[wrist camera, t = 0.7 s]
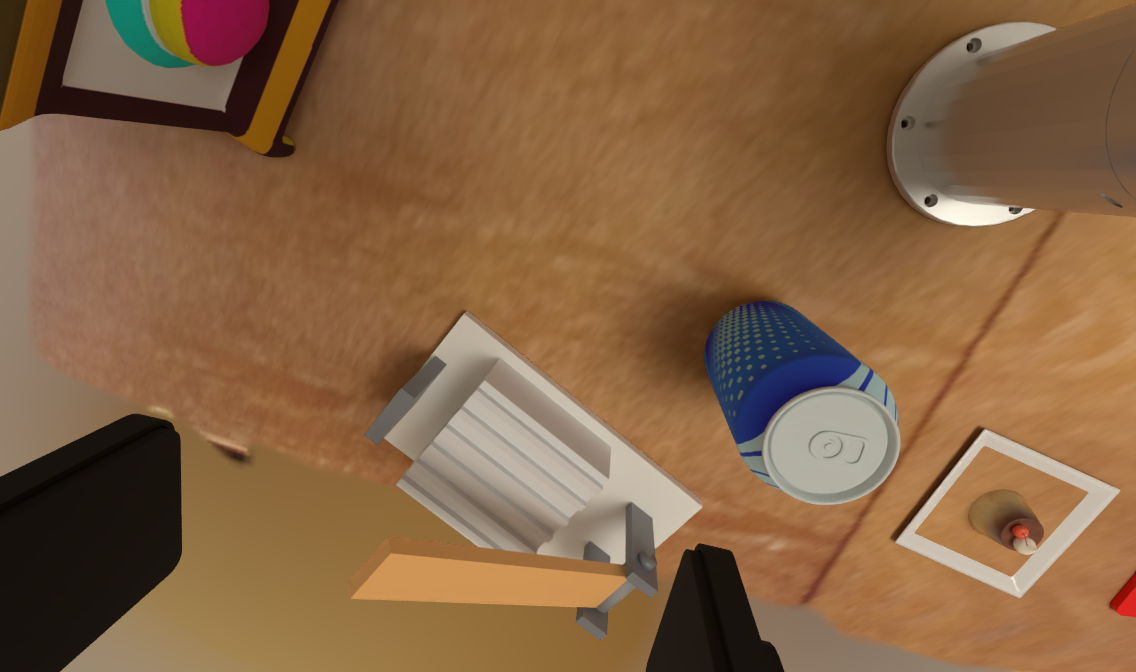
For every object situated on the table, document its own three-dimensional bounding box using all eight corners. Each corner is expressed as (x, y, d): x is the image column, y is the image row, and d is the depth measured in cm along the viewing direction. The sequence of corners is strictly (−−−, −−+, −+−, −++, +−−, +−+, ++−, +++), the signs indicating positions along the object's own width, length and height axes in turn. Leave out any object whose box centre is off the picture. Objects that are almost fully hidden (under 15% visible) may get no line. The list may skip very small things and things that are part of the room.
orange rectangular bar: (635, 561, 41) (646, 583, 40) (602, 591, 42) (611, 613, 41) (388, 529, 28) (391, 560, 26) (349, 574, 29) (350, 605, 27)
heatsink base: (701, 500, 46) (719, 579, 37) (597, 592, 50) (590, 684, 41) (467, 310, 43) (425, 346, 34) (377, 424, 47) (318, 483, 38)
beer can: (743, 416, 43) (806, 547, 28) (680, 341, 42) (710, 435, 27) (833, 356, 41) (955, 463, 26) (770, 274, 40) (858, 336, 24)
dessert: (975, 422, 42) (1018, 452, 37) (1109, 482, 42) (1167, 519, 38) (887, 534, 46) (916, 574, 41) (1011, 589, 46) (1053, 634, 41)
